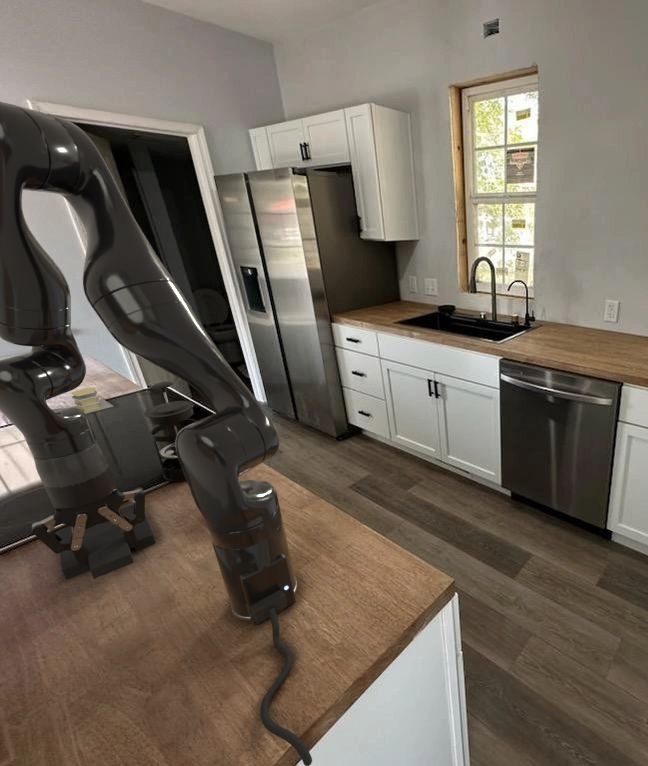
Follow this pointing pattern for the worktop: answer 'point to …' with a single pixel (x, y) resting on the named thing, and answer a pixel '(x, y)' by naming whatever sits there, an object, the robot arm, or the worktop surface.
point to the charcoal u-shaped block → (67, 557)
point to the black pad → (108, 552)
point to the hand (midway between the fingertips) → (110, 553)
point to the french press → (169, 430)
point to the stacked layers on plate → (89, 400)
